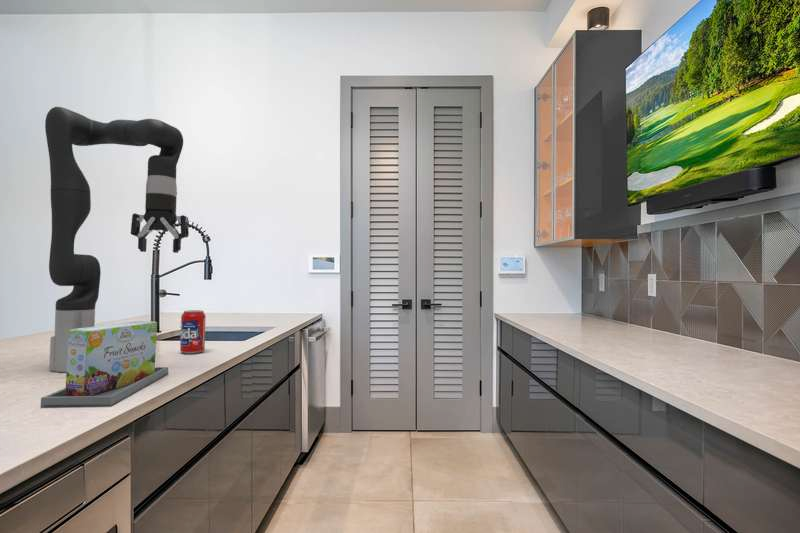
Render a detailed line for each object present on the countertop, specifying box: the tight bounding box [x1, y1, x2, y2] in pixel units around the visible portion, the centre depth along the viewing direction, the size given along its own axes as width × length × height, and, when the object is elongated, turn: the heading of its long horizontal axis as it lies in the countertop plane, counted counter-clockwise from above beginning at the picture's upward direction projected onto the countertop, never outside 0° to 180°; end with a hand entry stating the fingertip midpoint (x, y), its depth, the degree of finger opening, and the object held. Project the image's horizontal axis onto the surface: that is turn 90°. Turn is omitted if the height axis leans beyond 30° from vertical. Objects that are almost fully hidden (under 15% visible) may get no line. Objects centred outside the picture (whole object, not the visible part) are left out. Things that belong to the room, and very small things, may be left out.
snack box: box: [65, 320, 158, 396], centre depth 105 cm, size 21×6×15 cm, turn 170°
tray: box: [40, 366, 169, 408], centre depth 105 cm, size 14×30×2 cm, turn 7°
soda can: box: [179, 309, 207, 355], centre depth 153 cm, size 8×8×15 cm
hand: (159, 252), depth 119 cm, fingers open, 8 cm apart
